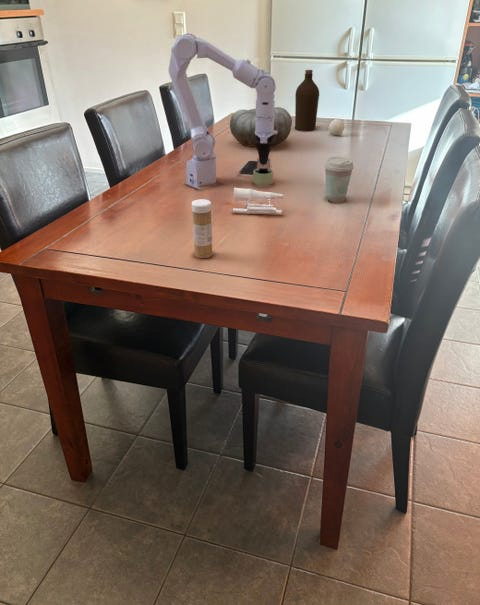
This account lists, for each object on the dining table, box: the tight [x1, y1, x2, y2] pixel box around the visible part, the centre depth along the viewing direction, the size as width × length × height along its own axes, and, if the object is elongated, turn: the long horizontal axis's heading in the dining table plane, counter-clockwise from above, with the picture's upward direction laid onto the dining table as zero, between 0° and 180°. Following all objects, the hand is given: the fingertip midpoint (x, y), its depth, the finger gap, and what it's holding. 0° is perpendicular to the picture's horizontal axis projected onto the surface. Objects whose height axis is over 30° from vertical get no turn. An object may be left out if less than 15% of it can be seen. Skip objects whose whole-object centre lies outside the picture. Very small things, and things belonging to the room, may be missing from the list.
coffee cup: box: [323, 156, 355, 204], centre depth 153 cm, size 9×8×12 cm
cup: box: [252, 168, 274, 186], centre depth 167 cm, size 6×6×4 cm
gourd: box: [229, 106, 293, 148], centre depth 207 cm, size 25×25×17 cm
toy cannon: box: [232, 187, 284, 216], centre depth 146 cm, size 8×14×5 cm
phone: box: [239, 160, 257, 176], centre depth 181 cm, size 8×1×15 cm
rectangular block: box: [256, 157, 271, 174], centre depth 166 cm, size 2×4×8 cm, turn 86°
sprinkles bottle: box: [191, 198, 214, 259], centre depth 120 cm, size 5×5×13 cm
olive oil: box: [294, 69, 320, 132], centre depth 229 cm, size 11×11×25 cm
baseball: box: [328, 118, 345, 136], centre depth 224 cm, size 7×7×7 cm
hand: (263, 160), depth 164 cm, fingers open, 7 cm apart
